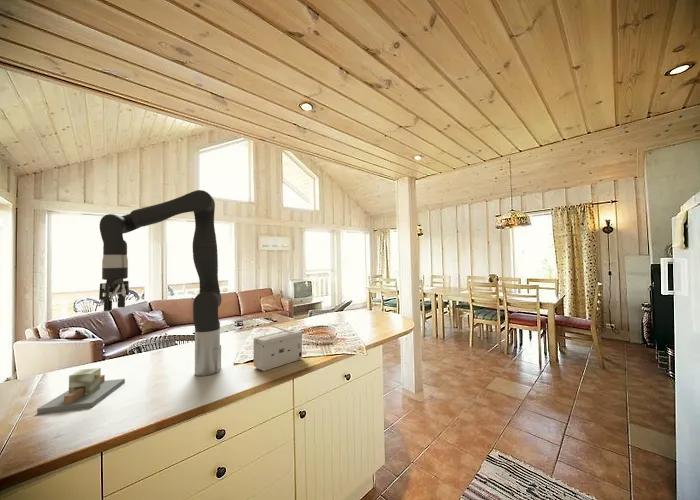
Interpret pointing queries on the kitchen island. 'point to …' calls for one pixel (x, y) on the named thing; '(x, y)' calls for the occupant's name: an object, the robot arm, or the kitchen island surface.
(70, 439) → the kitchen island surface
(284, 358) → the stereo radio cassette player
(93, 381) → the sage block
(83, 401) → the cleat board
